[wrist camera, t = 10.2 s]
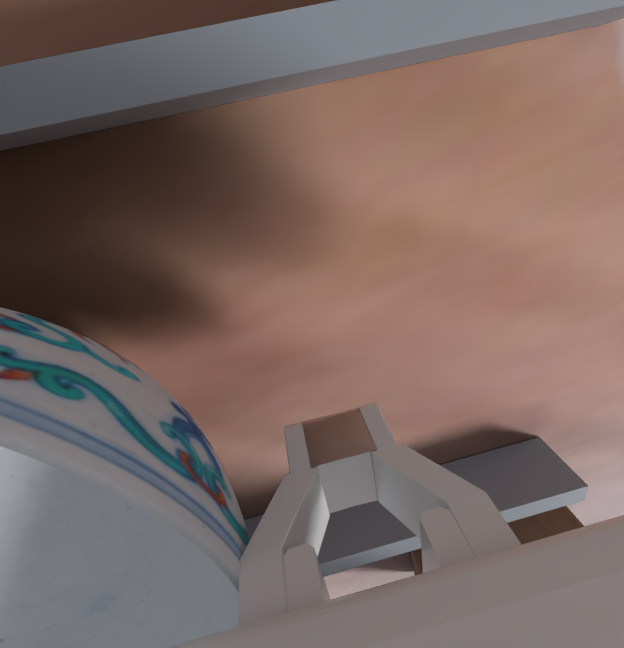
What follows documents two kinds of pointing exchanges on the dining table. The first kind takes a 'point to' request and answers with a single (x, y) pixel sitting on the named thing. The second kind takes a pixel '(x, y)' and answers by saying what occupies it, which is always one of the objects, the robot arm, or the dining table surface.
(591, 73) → the dining table surface
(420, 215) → the dining table surface
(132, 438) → the chinaware
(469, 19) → the wooden tray
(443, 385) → the dining table surface
